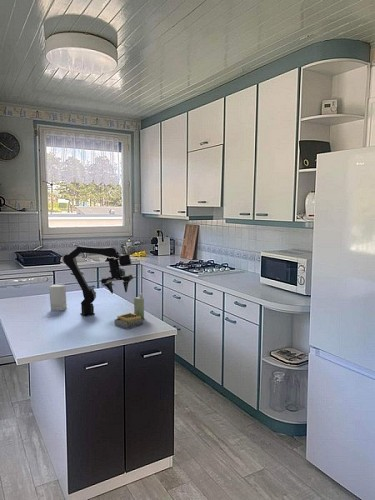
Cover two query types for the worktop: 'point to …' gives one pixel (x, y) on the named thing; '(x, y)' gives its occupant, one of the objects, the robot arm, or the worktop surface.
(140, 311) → the green and white bottle
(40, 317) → the worktop surface
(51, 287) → the skincare box
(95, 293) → the robot arm
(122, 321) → the grey and tan tray
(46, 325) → the worktop surface
